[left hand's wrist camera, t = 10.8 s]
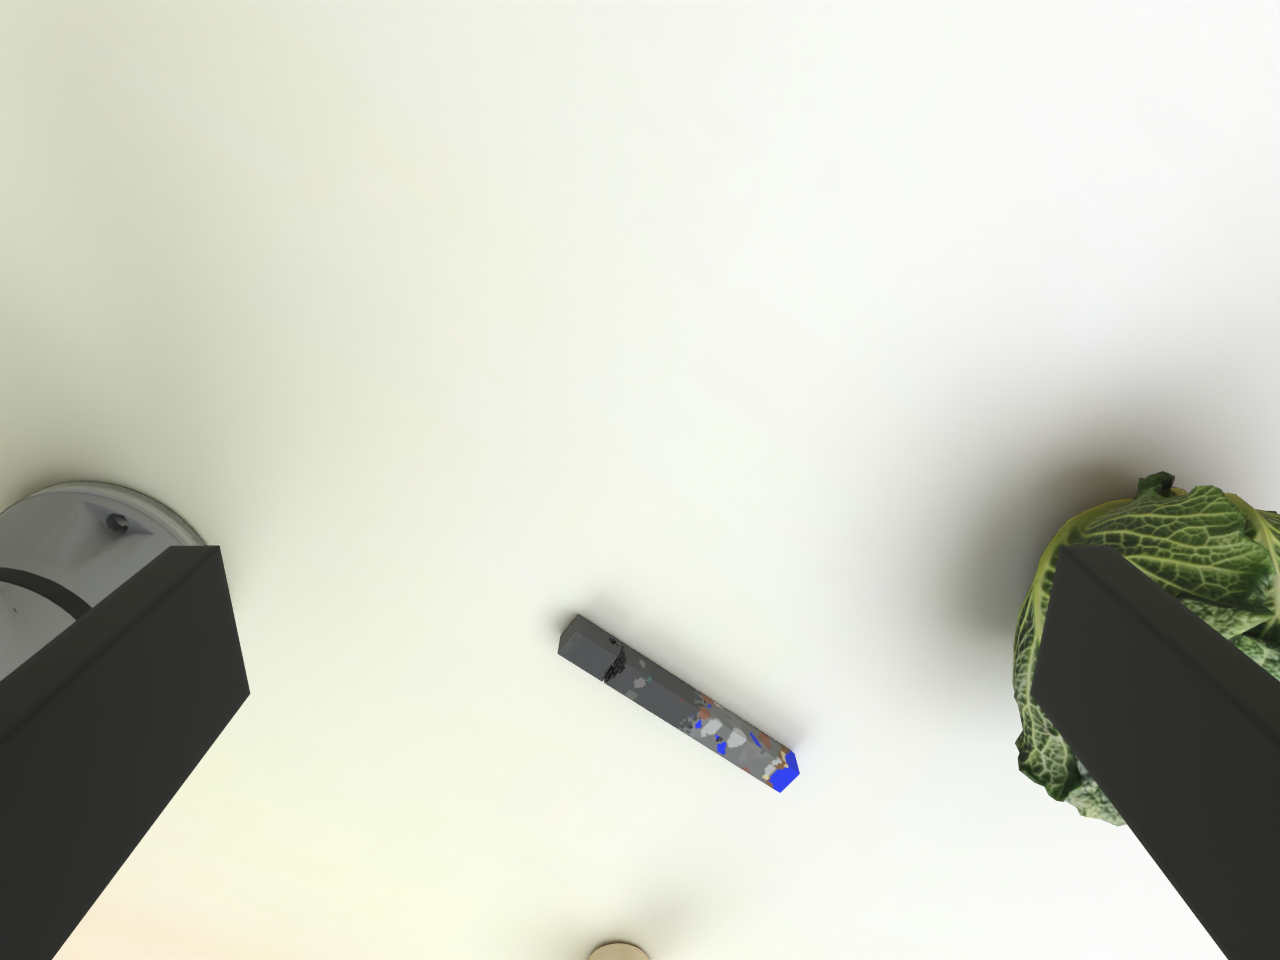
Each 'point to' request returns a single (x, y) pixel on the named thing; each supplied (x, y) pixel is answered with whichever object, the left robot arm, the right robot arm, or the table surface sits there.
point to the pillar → (677, 703)
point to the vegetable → (1182, 565)
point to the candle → (618, 953)
